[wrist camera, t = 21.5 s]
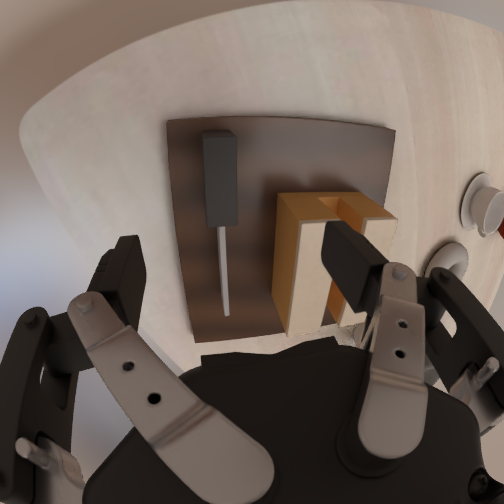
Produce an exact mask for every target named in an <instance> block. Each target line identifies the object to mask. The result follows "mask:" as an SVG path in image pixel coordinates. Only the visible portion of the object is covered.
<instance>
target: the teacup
mask: <svg viewBox="0 0 504 504" xmlns="http://www.w3.org/2000/svg"><path fill="white" fill-rule="evenodd" d="M503 217H504V192H503V191H501V190H498V189H496V188H493V184H492V180H491V178H490V177H489V175H487V174H485V173H482V174H480V175H478V176H477V177H476V178H475V179H474V180H473V181H472V182H471V184H470V185H469V187H468V189H467V191H466V194H465V197H464V200H463V204H462V209H461V220H462V224H463V226H464V227H465V228H466V229H468V230H471V229H474V228H476V227H477V226H478V232H479V234H480V235H481V236H482V237H483V238H485V237H487V236H488V235H490V234H492V233H494V232H495V231H496V230H497V228H498V227H499V226H500V224H501V222H502V220H503ZM481 230H482V231H483V232H484V233H485V234H483V233H482V231H481Z"/></svg>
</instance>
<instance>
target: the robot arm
mask: <svg viewBox="0 0 504 504" xmlns="http://www.w3.org/2000/svg"><path fill="white" fill-rule="evenodd" d="M321 260H322V264H323V266H324V267H325V269H326V270H327V272H328V273H329V275H330V276H331V278H332V279H333V281H334V282H335V284H336V285H337V287H338V288H339V290H340V291H341V293H342V295H343V296H344V298H345V299H346V301H347V302H348V304H349V305H350V307H351V309H352V310H353V312H354V313H355V314H356V313H361V312H366V313H367V315H366V318H365V321H364V325H363V329H362V334H361V338H360V342H359V346H358V348H357V347H352V346H346V345H338V343H337V341H336V339H335V337H334V336H331V337H326V338H321V339H316V340H311V341H305V342H302V343H300V344H298V345H295V346H293V347H291V348H288V349H286V350H283V351H281V352H278V353H275V354H254V353H241V352H232V353H222V354H212V355H201V365H202V366H199V367H196V368H193V369H191V370H189V371H187V372H185V373H183V374H181V375H180V376H179V377H177V376H176V375H175V374H174V373H173V372H172V371H171V370H170V369H169V368H168V367H167V366H166V365H165V363H163V361H162V360H161V359H160V358H159V357H158V356H157V355H156V354H155V353H154V351H153V350H152V349H151V348H150V347H149V346H148V345H147V344H146V343H145V341H144V340H143V339H142V338H141V337H140V335H139V334H138V333H137V331H138V325H139V318H140V312H141V306H142V301H143V295H144V290H145V285H146V267H145V263H144V258H143V254H142V249H141V244H140V240H139V237H138V235H130V236H121V237H120V238H119V240H118V242H117V244H116V246H115V249H109V250H108V251H107V252H106V253H105V254H104V255H103V256H102V257H101V260H100V262H99V264H98V266H97V268H96V270H95V273H94V275H93V277H92V280H91V282H90V284H89V287H88V289H87V291H86V292H85V293H82V294H80V295H78V296H77V297H75V298H74V299H73V300H72V301H71V302H70V304H69V306H68V309H67V312H65V313H62V314H58V315H55V316H51V317H49V315H48V313H47V311H46V310H45V309H44V308H42V307H33V308H31V309H29V310H27V311H25V312H24V313H23V314H22V315H21V316H20V318H19V319H18V321H17V323H16V326H15V328H14V330H13V333H12V335H11V338H10V340H9V342H8V345H7V348H6V351H5V353H4V356H3V359H2V362H1V364H0V502H2V503H5V504H504V484H502V483H500V482H498V481H496V480H494V479H493V478H492V477H490V476H489V474H488V473H487V471H486V469H485V467H484V463H483V458H482V452H481V443H480V436H483V435H484V434H486V433H487V432H488V431H489V430H491V429H492V428H493V427H495V426H496V425H497V424H498V423H499V422H501V421H502V420H503V419H504V331H503V330H502V329H501V327H500V326H499V325H498V324H497V322H496V321H495V320H494V319H493V317H492V316H491V315H490V314H489V312H488V311H487V310H486V309H485V308H484V306H483V305H482V304H481V303H480V302H479V301H478V299H477V298H476V297H475V296H474V295H473V294H472V293H471V291H470V290H469V289H468V288H467V287H466V286H465V285H464V284H463V283H462V282H461V281H460V279H459V278H458V277H457V276H456V275H455V274H454V273H452V272H451V271H450V270H448V269H445V268H442V267H434V268H432V269H431V272H430V274H429V277H418V276H416V275H415V273H414V271H413V270H412V269H411V268H409V267H408V266H406V265H404V264H401V263H398V262H389V261H388V260H387V259H386V258H385V257H384V256H383V255H382V254H381V252H380V251H379V250H378V249H377V248H375V246H374V245H373V244H372V243H370V241H369V240H368V239H367V238H366V237H365V236H364V235H362V234H360V233H358V232H357V231H355V230H353V229H352V228H351V227H350V226H349V225H348V224H347V223H346V222H345V221H344V220H338V221H327V222H326V225H325V229H324V236H323V242H322V248H321ZM446 310H447V311H448V313H449V314H450V315H451V316H452V318H453V319H454V320H455V322H456V326H457V330H456V333H455V335H454V336H453V338H452V337H451V335H450V334H449V333H448V331H447V330H446V328H445V327H444V326H443V324H442V323H441V321H440V320H441V318H442V316H443V314H444V312H445V311H446ZM425 353H426V355H427V356H428V358H429V360H430V361H431V363H432V365H433V366H434V368H435V370H436V372H437V373H438V375H439V377H440V379H441V380H442V382H443V384H444V386H445V388H446V389H447V391H448V393H449V394H447V393H445V392H443V391H441V390H439V389H437V388H435V387H433V386H431V385H429V384H427V383H426V382H424V367H425ZM42 367H44V371H43V375H42V379H41V383H40V374H41V371H42ZM93 367H95V368H96V370H97V372H98V373H99V375H100V376H101V378H102V380H103V381H104V383H105V385H106V386H107V388H108V389H109V390H110V392H111V394H112V395H113V397H114V398H115V400H116V401H117V402H118V404H119V405H120V407H121V408H122V410H123V411H124V412H125V414H126V415H127V417H128V418H129V419H130V421H131V422H132V423H133V424H134V427H133V428H132V429H131V430H130V431H129V433H128V434H127V435H126V436H125V437H124V439H123V440H122V441H121V442H120V443H119V445H118V446H117V447H116V448H115V449H114V450H113V451H112V453H111V454H110V455H109V456H108V457H107V458H106V459H105V461H104V462H103V463H102V464H101V465H100V466H99V468H98V469H97V470H96V471H95V472H94V473H93V474H92V476H91V477H90V478H89V480H88V481H87V483H86V484H85V482H84V480H83V475H82V473H81V468H80V465H79V463H78V461H77V459H76V458H75V457H74V456H73V455H72V454H71V436H72V422H73V411H74V402H75V395H76V388H77V381H78V375H79V371H83V370H86V369H90V368H93Z"/></svg>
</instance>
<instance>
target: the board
mask: <svg viewBox="0 0 504 504" xmlns="http://www.w3.org/2000/svg"><path fill="white" fill-rule="evenodd" d="M166 126H167V143H168V157H169V170H170V181H171V191H172V201H173V210H174V218H175V227H176V234H177V242H178V249H179V256H180V262H181V269H182V275H183V281H184V287H185V293H186V299H187V304H188V310H189V315H190V320H191V325H192V330H193V335H194V340H195V343H203V342H213V341H223V340H232V339H241V338H249V337H257V336H264V335H271V334H278V333H284V332H285V330H284V327H283V325H282V322H281V319H280V316H279V314H278V311H277V308H276V306H275V303H274V300H273V297H272V295H271V293H272V278H273V263H274V248H275V231H276V213H277V194H278V193H295V192H361V193H363V194H364V195H366V196H367V197H369V198H370V199H371V200H373V201H374V202H376V203H377V204H378V205H380V206H381V207H382V208H384V203H385V198H386V192H387V187H388V181H389V175H390V169H391V163H392V156H393V149H394V141H395V133H396V130H393V129H389V128H385V127H379V126H373V125H366V124H360V123H352V122H344V121H336V120H326V119H315V118H301V117H281V116H221V117H201V118H188V119H176V120H168V121H167V122H166ZM218 130H231V131H232V132H233V133H234V134H235V135H236V136H237V214H238V225H237V226H225V237H226V260H227V279H228V297H229V314H230V315H229V316H225V315H224V309H223V302H222V296H221V284H220V270H219V255H218V239H217V227H212V228H207V223H206V211H205V196H204V179H203V158H202V131H218ZM335 323H336V321H335V319H334V318H333V316H332V314H331V312H330V310H329V309H328V307H327V305H326V307H325V311H324V315H323V319H322V323H321V326H325V325H330V324H335Z"/></svg>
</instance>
